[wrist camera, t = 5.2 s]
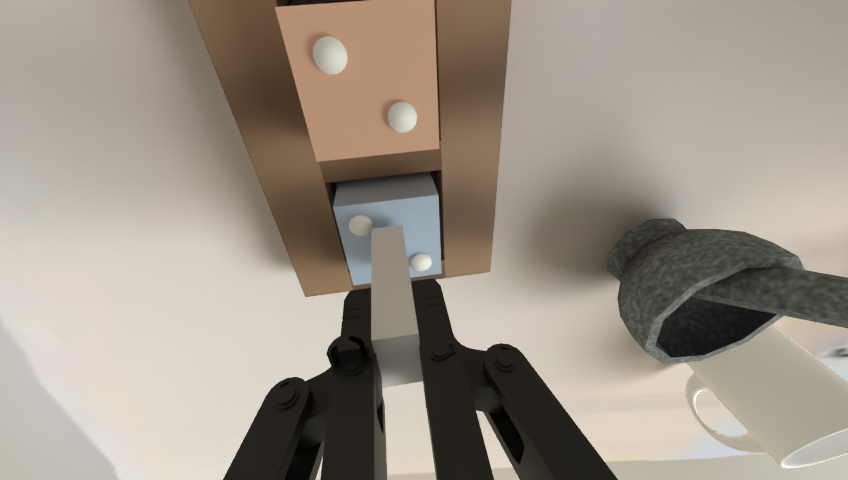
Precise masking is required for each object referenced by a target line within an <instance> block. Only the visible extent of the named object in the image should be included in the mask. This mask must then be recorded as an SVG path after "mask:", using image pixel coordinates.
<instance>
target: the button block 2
mask: <svg viewBox="0 0 848 480" xmlns="http://www.w3.org/2000/svg"><path fill="white" fill-rule="evenodd" d="M275 10H276V14H277V17H278V21H279V25H280V28H281V32H282V36H283V40H284V43H285V47H286V51H287V54H288V58H289V62H290V65H291V69H292V73H293V76H294V80H295V84H296V88H297V91H298V95H299V99H300V102H301V106H302V110H303V113H304V117H305V121H306V124H307V128H308V132H309V135H310V139H311V143H312V147H313V150H314V154H315V158H316V161H317V162H319V161H329V160H338V159H347V158H357V157H366V156H376V155H385V154H395V153H404V152H413V151H423V150H432V149H439V124H438V95H437V66H436V37H435V8H434V0H367V1H353V2H339V3H325V4H311V5H297V6H282V7H275Z"/></svg>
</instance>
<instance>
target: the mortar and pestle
mask: <svg viewBox="0 0 848 480" xmlns="http://www.w3.org/2000/svg"><path fill="white" fill-rule="evenodd" d="M607 270H608V271H609V272H610V273H611V274H612V275H613V276H614V277H616V278H617V279H618V280H619V281H620V287H619V293H618V304H619V311H620V316H621V318H622V320H623V321H624V323H625V325H626V327H627V328H628V330H629V332H630V333H631V335H632V336H633V337H634V339H635V340H636V341H637V342H638V343H639V345H640V346H641V347H642V348H643V349H644V351H646V352H647V353H649V354H650V355H651V356H653V357H654V358H656V359H657V360H658V361H660V362H661V363H663V364H670V363H682V362H694V361H702V360H704V359H707V358H709V357H712V356H714V355H717V354H719V353H722V352H724V351H727V350H729V349H732V348H734V347H737V346H739V345H742V344H744V343H746V342H748V341H749V340H751V339H752V338H753V337H755V336H756V335H758V334H759V333H760V332H762V331H763V330H765V329H766V328H767V327H769V326H770V325H772V324H773V323H774V322H776V321H777V320H779V319H780V318H781V317H783V316H789V317H794V318H799V319H804V320H809V321H814V322H819V323H824V324H829V325H834V326H839V327H845V328H848V278H845V277H840V276H834V275H829V274H823V273H817V272H812V271H806V270H805V269H804V267H803V265H802V263H801V261H800V259H799V257H798V256H796V255H794V254H792V253H791V252H789V251H787V250H785V249H783V248H782V247H780V246H778V245H776V244H774V243H772V242H770V241H767V240H764V239H762V238H759V237H757V236H754V235H751V234H749V233H746V232H740V231H730V230H720V229H686V228H685V227H684V226H683V225H682V224H681V223H679V222H678V221H677V220H675V219H652V220H650V221H648V222H646V223H644V224H642V225H640V226H638V227H636V228H634V229H632V230H630V231H629V232H627V233H626V234H625V235H624V236H623V237H622V239H621V240H620V241H619V242H618V243H617V244H616V245H615V247H614V248H613V249H612V250H611V251H610V254H609V261H608V268H607Z"/></svg>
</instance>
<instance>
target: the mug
mask: <svg viewBox="0 0 848 480" xmlns="http://www.w3.org/2000/svg"><path fill="white" fill-rule="evenodd" d="M687 364H688V365H689V366H690V368H691V369H692V370H693V371H694V373H693V374H692V375H691V376H690V378H689V379H688V381H687V383H686V387H685V395H686V399H687V403H688V405H689V408H690V409H691V411H692V413H693V415H694V416H695V418H696V419H697V421H698V422H699V423H700V425H701V426H702V427H703V428H704V429H705V430H706V431H707V432H708V433H709V434H710V435H711V436H712V437H714V438H715V439H716V440H718V441H719V442H721V443H722V444H724V445H726V446H728V447H731V448H733V449H736V450H739V451H743V452H748V453H755V454H767V455H770V456H771V457H772V458H773V459H774V460H775V461H776V462H777V463H778V465H779V466H781V467H783V468H797V467H804V466H808V465H813V464H817V463H820V462H824V461H827V460H830V459H833V458H836V457H839V456H842V455H845V454H847V453H848V381H846V380H845V379H844V378H842V377H841V376H840V375H838V374H837V373H836V372H835V371H833V370H832V369H831V368H829V367H828V366H827V365H825V364H824V363H823V362H821V361H820V360H819V359H817V358H816V357H815V356H813V355H812V354H811V353H810V352H808V351H807V350H806V349H804V348H803V347H802V346H800V345H799V344H798V343H796V342H795V341H794V340H792V339H791V338H790V337H788V336H787V335H786V334H784V333H783V332H782V331H781V330H779V329H778V328H777V327H775V326H774V325H770V326H769V327H767V328H766V329H765V330H763V331H762V332H760V333H759V334H758V335H756V336H755V337H753V338H752V339H751V340H749V341H748V342H746V343H744V344H742V345H739V346H737V347H734V348H732V349H729V350H727V351H724V352H722V353H719V354H717V355H714V356H712V357H709V358H707V359H704V360H702V361H694V362H687ZM708 389H710V390H711V391H712V392H713V393H714V394H715V396H716V397H717V398H718V399H719V400H720V401H721V402H722V403H723V404H724V405H725V407H726V408H727V409H728V410H729V411H730V412H731V413H732V414H733V415H734V416H735V417H736V419H737V420H738V421H739V422H740V423H741V424H742V425H743V426H744V427H745V428H746V429H747V430H748V433H746V434H743V435H740V436H727V435H723V434H721V433H718V432H716V431H714V430H713V429H711V428H710V427H709V426H707V425H706V424H705V423H704V422H703V420H702V419H701V418H700V416H699V415H698V413H697V410H696V406H695V399H696V396H697V395H698V394H699V393H700V392H701V391H704V390H708Z"/></svg>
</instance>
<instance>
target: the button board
mask: <svg viewBox="0 0 848 480" xmlns="http://www.w3.org/2000/svg"><path fill="white" fill-rule="evenodd" d="M188 1H189V4H190V6H191V9H192V11H193V14H194V16H195V19H196V21H197V24H198V26H199V29H200V32H201V34H202V37H203V39H204V42H205V44H206V47H207V49H208V52H209V54H210V57H211V59H212V62H213V64H214V67H215V69H216V72H217V75H218V77H219V80H220V82H221V85H222V87H223V90H224V92H225V95H226V97H227V100H228V102H229V105H230V107H231V110H232V112H233V115H234V118H235V120H236V123H237V125H238V128H239V130H240V133H241V135H242V138H243V140H244V143H245V145H246V148H247V150H248V153H249V155H250V158H251V161H252V163H253V166H254V168H255V171H256V173H257V176H258V178H259V181H260V183H261V186H262V188H263V191H264V193H265V196H266V198H267V201H268V204H269V206H270V209H271V211H272V214H273V216H274V219H275V221H276V224H277V226H278V229H279V231H280V234H281V236H282V239H283V241H284V244H285V247H286V249H287V252H288V254H289V257H290V259H291V262H292V264H293V267H294V269H295V272H296V274H297V277H298V279H299V282H300V285H301V287H302V290H303V292H304V295H305V297H309V296H317V295H324V294H332V293H339V292H346V291H351V290H358V289H365V288H371V283H368V284H360V285H353V282H352V278H351V274H350V270H349V267H348V263H347V259H346V255H345V251H344V248H343V244H342V240H341V236H340V232H339V229H338V225H337V221H336V217H335V213H334V210H333V204H334V200H335V195H336V187H335V183H334V182H337V181H346V180H355V179H364V178H373V177H382V176H391V175H400V174H409V173H418V172H427V171H435V178H436V190H437V192H438V195H439V221H440V246H441V271H442V274H435V275H427V276H420V277H412V278H410V279H411V281H417V280H424V279H431V278H434V279H442V278H449V277H457V276H464V275H471V274H479V273H486V272H490V266H491V253H492V241H493V228H494V215H495V203H496V190H497V177H498V164H499V152H500V139H501V126H502V114H503V101H504V88H505V76H506V63H507V50H508V38H509V25H510V12H511V0H434V8H435V37H436V66H437V95H438V124H439V149H432V150H423V151H413V152H404V153H395V154H385V155H376V156H366V157H357V158H347V159H338V160H329V161H319V162H317V161H316V158H315V154H314V150H313V147H312V143H311V139H310V135H309V132H308V128H307V124H306V121H305V117H304V113H303V110H302V106H301V102H300V99H299V95H298V91H297V88H296V84H295V80H294V76H293V73H292V69H291V65H290V62H289V58H288V54H287V51H286V47H285V43H284V40H283V36H282V32H281V28H280V25H279V21H278V17H277V14H276V10H275V7H282V6H291V4H290V0H188Z"/></svg>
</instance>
